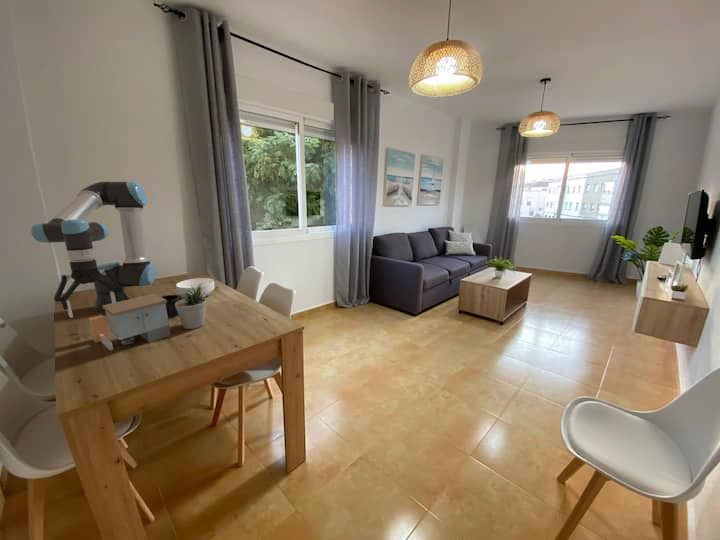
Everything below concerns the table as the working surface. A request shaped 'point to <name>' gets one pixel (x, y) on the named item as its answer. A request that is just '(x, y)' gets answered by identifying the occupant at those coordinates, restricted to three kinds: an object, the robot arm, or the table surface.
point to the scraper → (99, 330)
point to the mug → (171, 305)
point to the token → (128, 341)
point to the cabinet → (139, 318)
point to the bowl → (204, 282)
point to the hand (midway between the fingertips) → (93, 311)
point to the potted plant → (192, 309)
